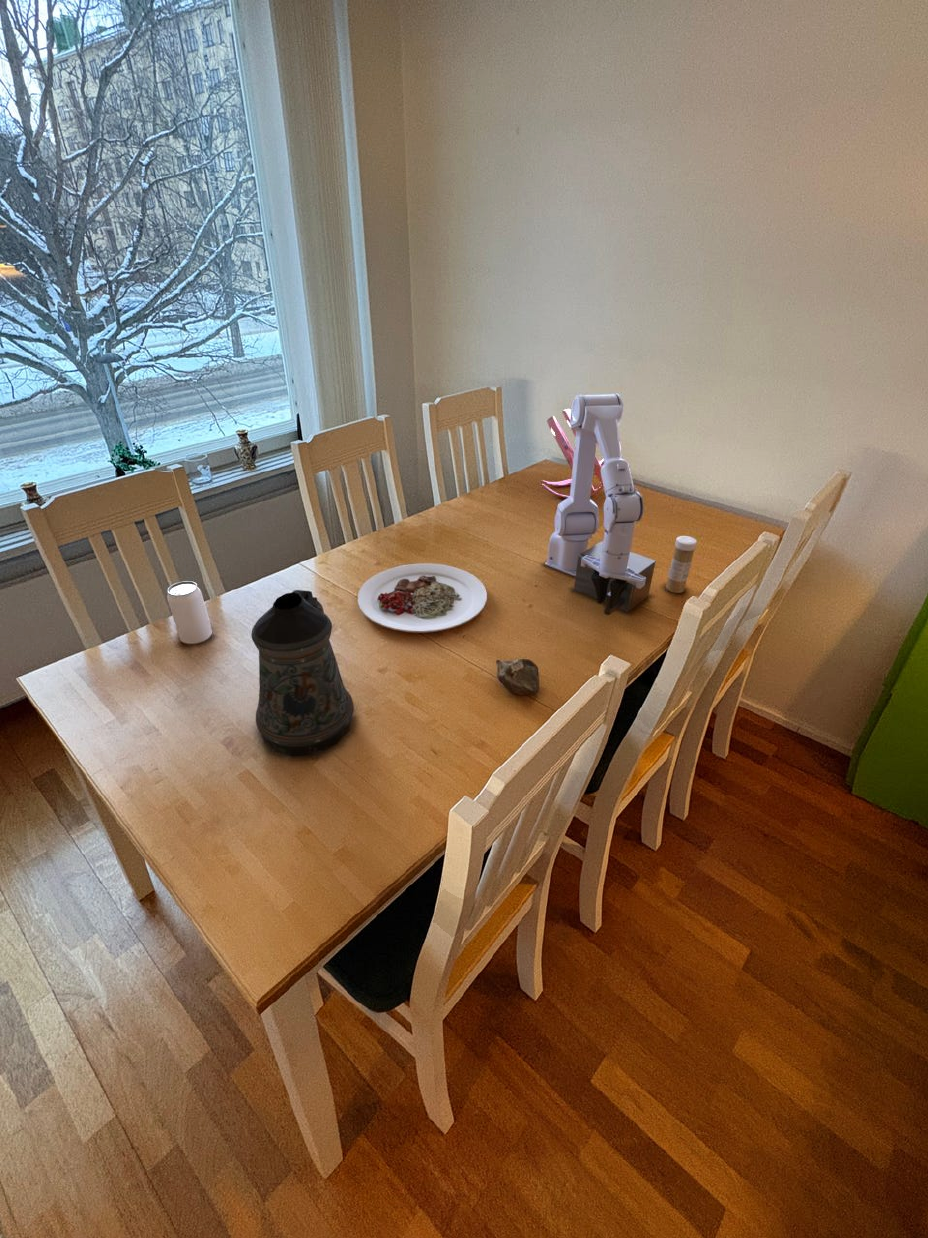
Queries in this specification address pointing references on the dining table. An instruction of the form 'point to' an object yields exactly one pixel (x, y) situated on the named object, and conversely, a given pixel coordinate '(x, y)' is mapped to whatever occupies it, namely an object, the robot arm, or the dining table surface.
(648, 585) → the cupboard
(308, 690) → the beer stein
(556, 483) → the spiral basket
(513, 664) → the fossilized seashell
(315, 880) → the dining table surface
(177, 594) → the can
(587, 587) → the cupboard door
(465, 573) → the plated food
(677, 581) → the sprinkles bottle
